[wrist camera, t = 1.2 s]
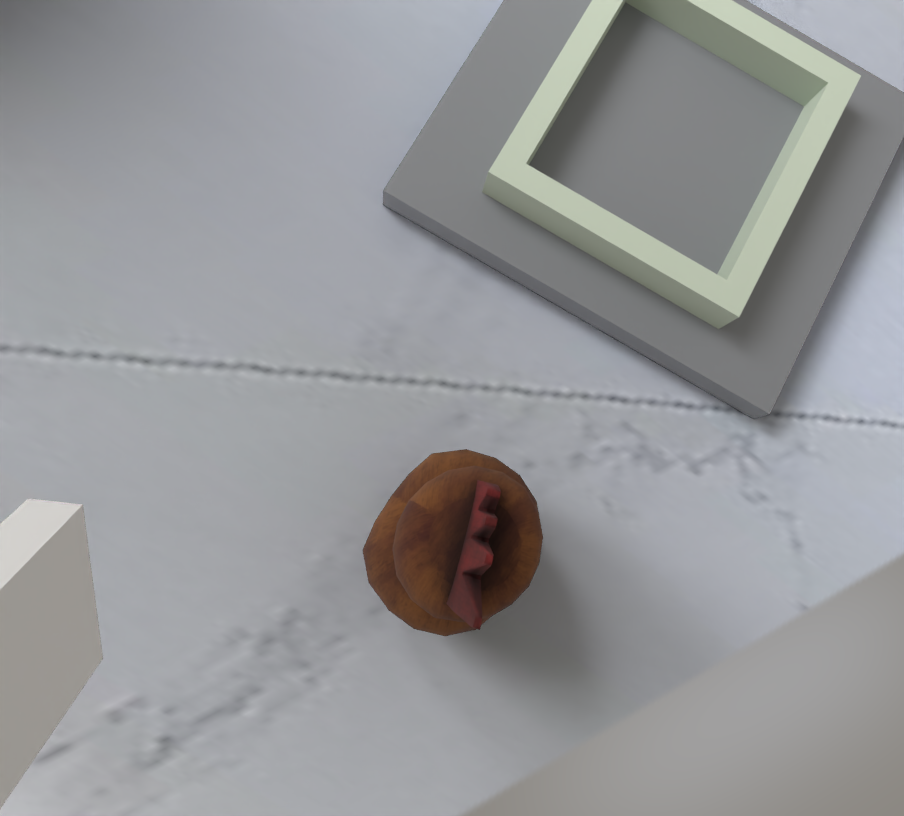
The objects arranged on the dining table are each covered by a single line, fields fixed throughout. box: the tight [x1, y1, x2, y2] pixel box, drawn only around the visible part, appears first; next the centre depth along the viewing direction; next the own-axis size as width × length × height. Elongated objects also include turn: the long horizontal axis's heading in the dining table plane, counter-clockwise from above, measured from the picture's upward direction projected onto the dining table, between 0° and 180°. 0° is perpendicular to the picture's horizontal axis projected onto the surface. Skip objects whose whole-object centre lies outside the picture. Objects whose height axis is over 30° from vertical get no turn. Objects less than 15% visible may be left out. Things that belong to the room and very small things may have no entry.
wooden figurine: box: [363, 449, 543, 636], centre depth 26 cm, size 7×6×15 cm
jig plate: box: [383, 0, 904, 419], centre depth 36 cm, size 20×18×4 cm
